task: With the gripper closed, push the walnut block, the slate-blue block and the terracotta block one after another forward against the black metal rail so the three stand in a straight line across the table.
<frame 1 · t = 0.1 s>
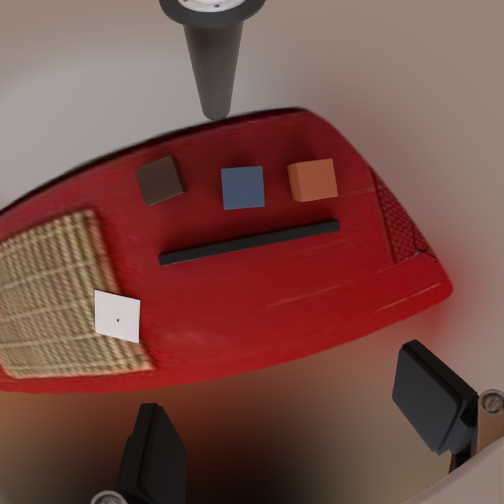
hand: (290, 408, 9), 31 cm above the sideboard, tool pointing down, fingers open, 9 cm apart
terracotta block: (306, 180, 38), on the sideboard
walnut block: (166, 181, 36), on the sideboard
slate blue block: (240, 187, 37), on the sideboard
rail: (249, 239, 39), on the sideboard
coaster: (116, 316, 40), on the sideboard
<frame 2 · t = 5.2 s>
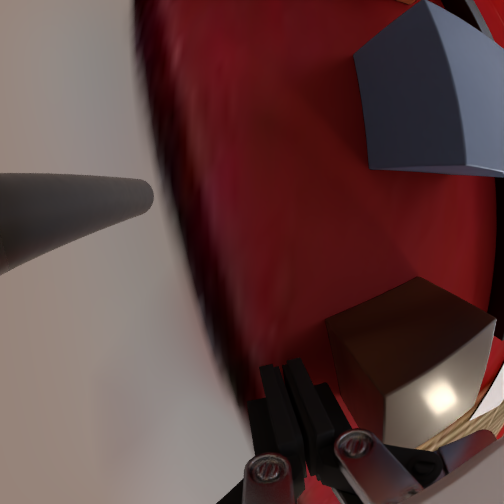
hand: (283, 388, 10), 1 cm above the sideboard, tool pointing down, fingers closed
walnut block: (380, 340, 11), on the sideboard, touching gripper
slate blue block: (409, 115, 9), on the sideboard
rail: (492, 126, 10), on the sideboard
coaster: (503, 381, 16), on the sideboard
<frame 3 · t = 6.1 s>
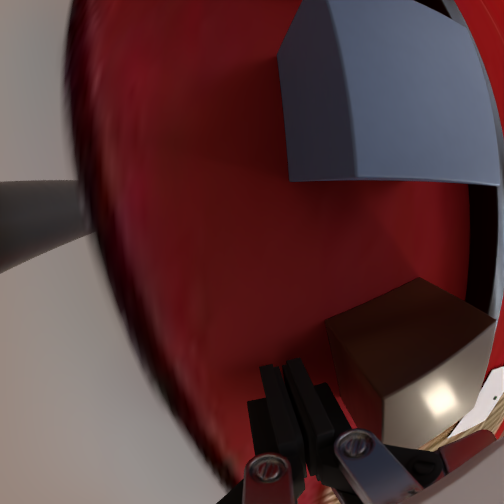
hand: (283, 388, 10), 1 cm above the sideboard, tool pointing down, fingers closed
walnut block: (381, 342, 11), on the sideboard, touching gripper
slate blue block: (347, 115, 9), on the sideboard
rail: (466, 122, 9), on the sideboard
coaster: (487, 398, 15), on the sideboard
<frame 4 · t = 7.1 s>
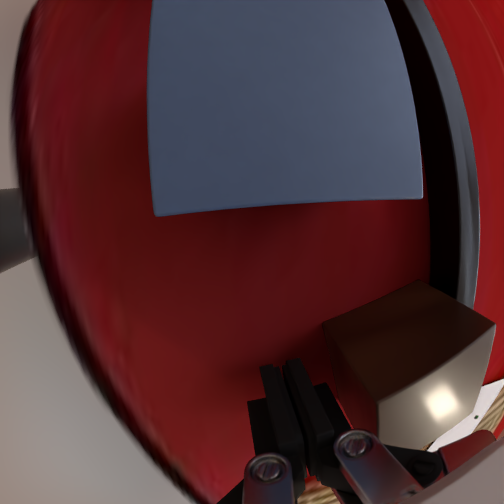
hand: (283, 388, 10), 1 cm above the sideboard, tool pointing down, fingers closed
walnut block: (379, 344, 11), on the sideboard, touching gripper, rail
slate blue block: (259, 124, 9), on the sideboard
rail: (426, 118, 9), on the sideboard
coaster: (468, 416, 15), on the sideboard
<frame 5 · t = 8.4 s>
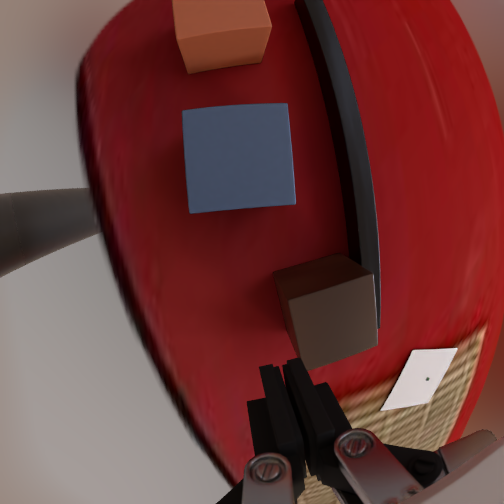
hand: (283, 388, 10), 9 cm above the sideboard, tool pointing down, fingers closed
terracotta block: (219, 40, 15), on the sideboard
walnut block: (313, 294, 19), on the sideboard
slate blue block: (235, 164, 17), on the sideboard
rail: (344, 149, 17), on the sideboard
coaster: (421, 379, 23), on the sideboard
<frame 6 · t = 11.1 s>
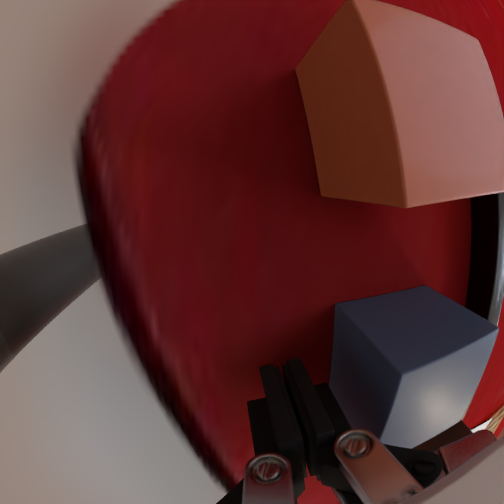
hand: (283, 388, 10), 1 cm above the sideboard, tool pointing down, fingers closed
terracotta block: (367, 126, 9), on the sideboard
walnut block: (405, 430, 14), on the sideboard
slate blue block: (379, 341, 11), on the sideboard, touching gripper
rail: (472, 299, 12), on the sideboard
coaster: (459, 448, 18), on the sideboard
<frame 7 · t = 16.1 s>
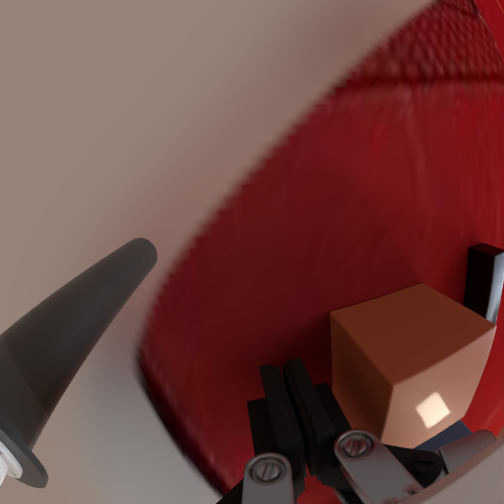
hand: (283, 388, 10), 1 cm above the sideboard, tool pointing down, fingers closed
terracotta block: (378, 342, 11), on the sideboard, touching gripper
slate blue block: (403, 431, 14), on the sideboard
rail: (441, 409, 14), on the sideboard
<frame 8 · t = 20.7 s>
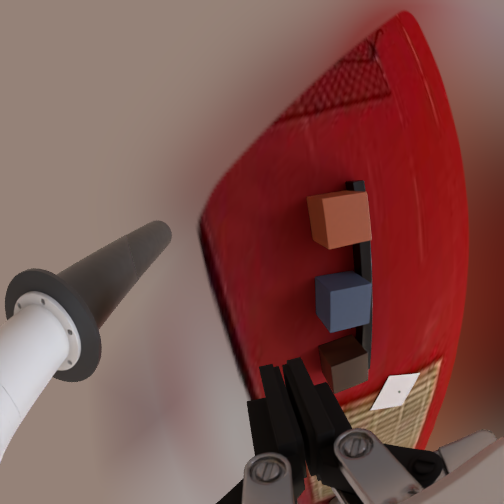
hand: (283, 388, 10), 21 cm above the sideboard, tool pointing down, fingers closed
terracotta block: (329, 214, 30), on the sideboard
walnut block: (336, 353, 35), on the sideboard
coffee pot: (357, 492, 51), on the sideboard
slate blue block: (334, 292, 33), on the sideboard
rail: (360, 284, 33), on the sideboard
coaster: (395, 391, 39), on the sideboard
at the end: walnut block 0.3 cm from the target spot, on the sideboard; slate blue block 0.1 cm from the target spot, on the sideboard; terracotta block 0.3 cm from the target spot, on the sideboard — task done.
